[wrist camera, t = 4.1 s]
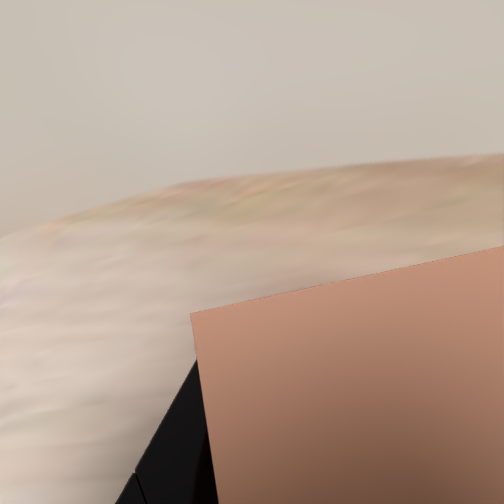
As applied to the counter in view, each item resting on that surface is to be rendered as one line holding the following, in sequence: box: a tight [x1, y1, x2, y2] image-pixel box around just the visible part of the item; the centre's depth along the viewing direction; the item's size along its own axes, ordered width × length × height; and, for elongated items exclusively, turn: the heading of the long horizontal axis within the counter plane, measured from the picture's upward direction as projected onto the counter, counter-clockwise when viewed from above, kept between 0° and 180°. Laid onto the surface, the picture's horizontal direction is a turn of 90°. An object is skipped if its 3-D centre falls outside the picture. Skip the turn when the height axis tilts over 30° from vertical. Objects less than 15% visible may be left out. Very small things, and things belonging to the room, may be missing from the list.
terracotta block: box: [190, 246, 504, 504], centre depth 9 cm, size 5×5×10 cm
